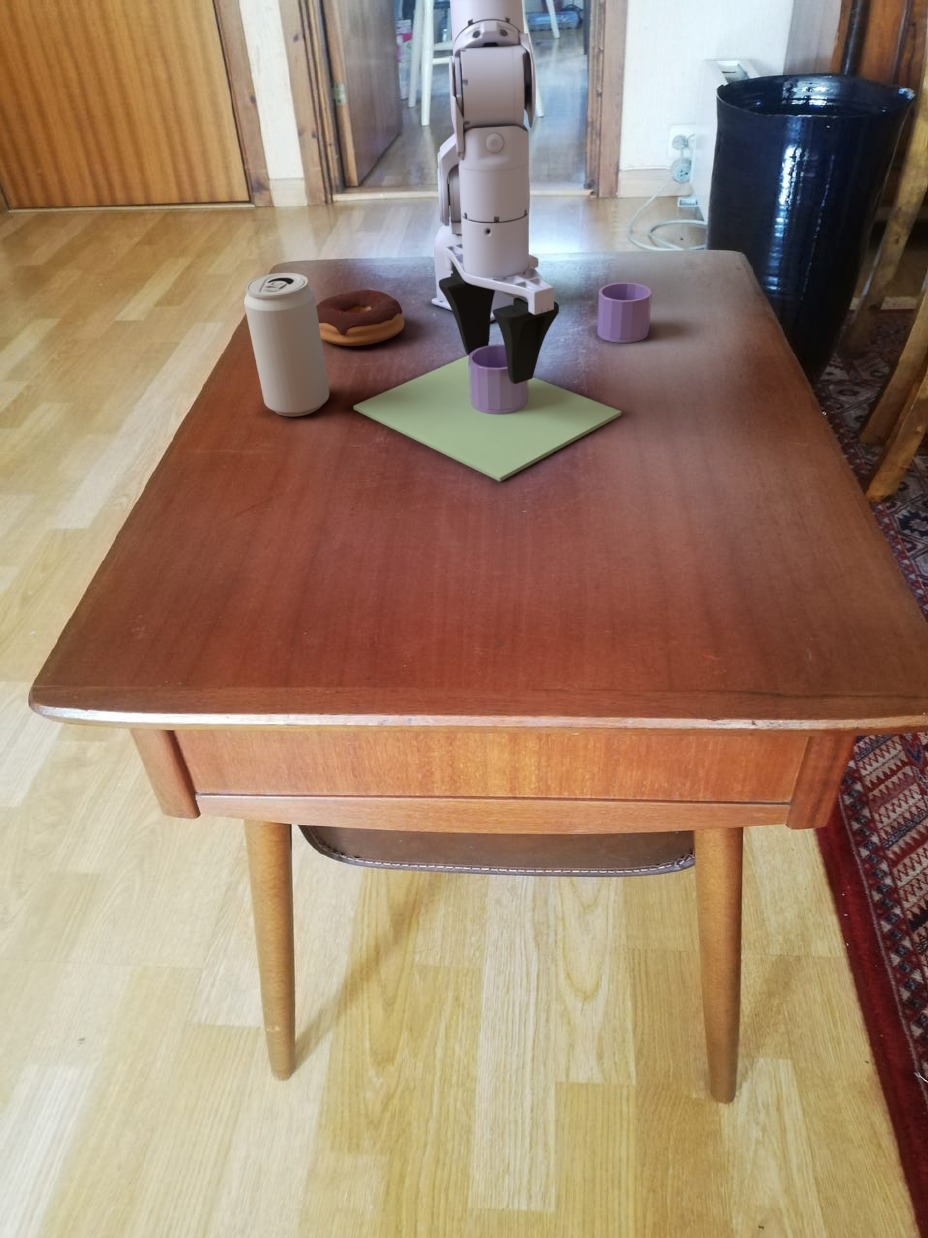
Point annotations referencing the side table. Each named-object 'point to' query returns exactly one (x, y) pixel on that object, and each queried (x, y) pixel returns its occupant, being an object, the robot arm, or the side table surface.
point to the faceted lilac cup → (623, 312)
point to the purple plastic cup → (494, 382)
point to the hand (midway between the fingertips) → (498, 365)
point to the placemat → (485, 420)
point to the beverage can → (287, 343)
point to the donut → (359, 318)
